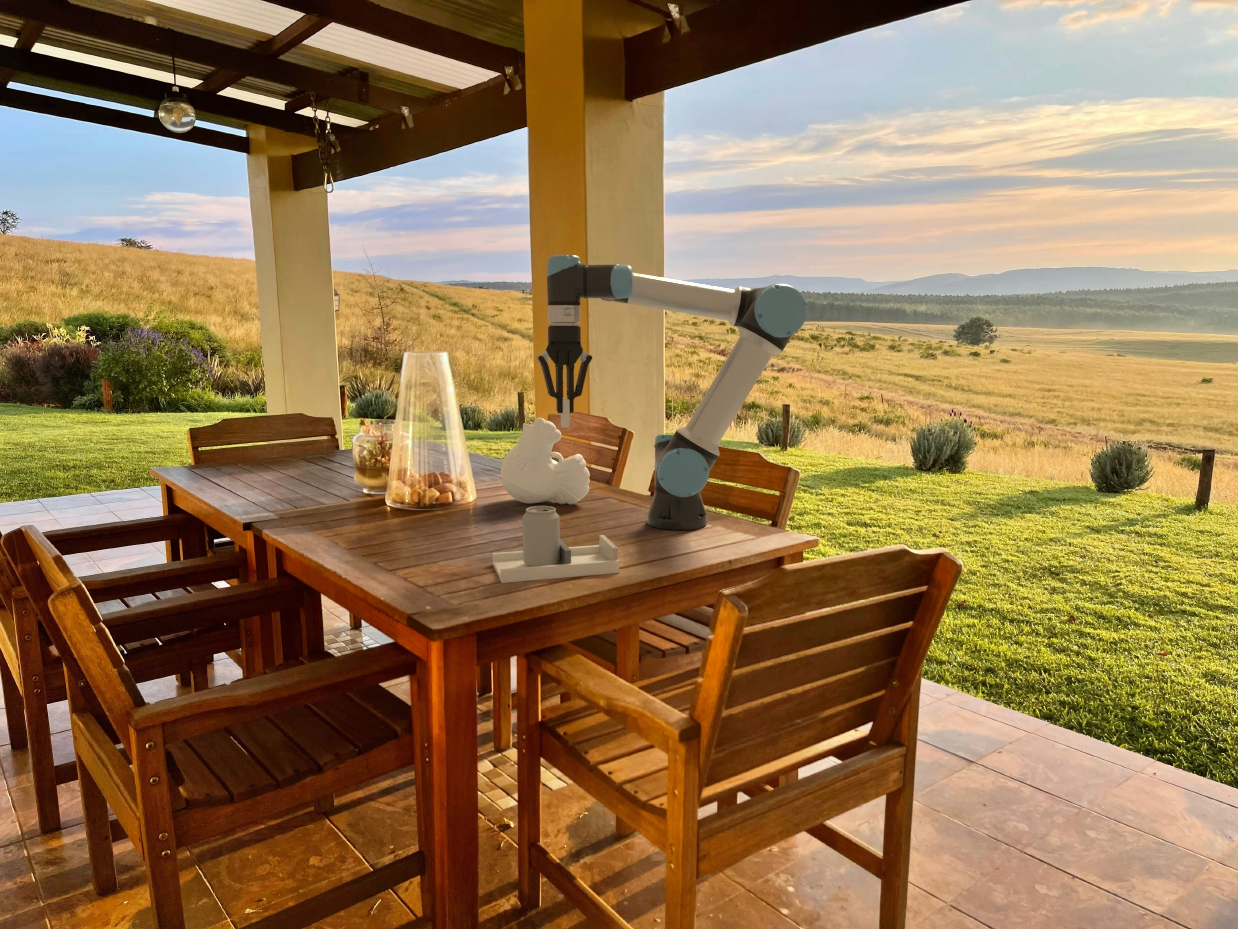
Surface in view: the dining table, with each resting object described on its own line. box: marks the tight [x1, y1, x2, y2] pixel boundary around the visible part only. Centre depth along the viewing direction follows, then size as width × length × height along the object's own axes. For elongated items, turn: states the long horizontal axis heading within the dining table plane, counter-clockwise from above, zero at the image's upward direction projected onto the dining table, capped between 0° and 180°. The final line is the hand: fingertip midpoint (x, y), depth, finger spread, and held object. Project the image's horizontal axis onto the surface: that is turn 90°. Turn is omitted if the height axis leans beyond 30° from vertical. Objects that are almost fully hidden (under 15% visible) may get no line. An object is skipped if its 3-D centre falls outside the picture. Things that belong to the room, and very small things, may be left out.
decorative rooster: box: [500, 417, 591, 505], centre depth 226 cm, size 25×16×25 cm
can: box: [522, 505, 561, 567], centre depth 166 cm, size 8×8×12 cm
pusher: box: [559, 537, 571, 564], centre depth 168 cm, size 1×10×4 cm, turn 16°
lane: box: [492, 534, 620, 584], centre depth 168 cm, size 24×13×5 cm, turn 106°
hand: (565, 426), depth 190 cm, fingers closed
